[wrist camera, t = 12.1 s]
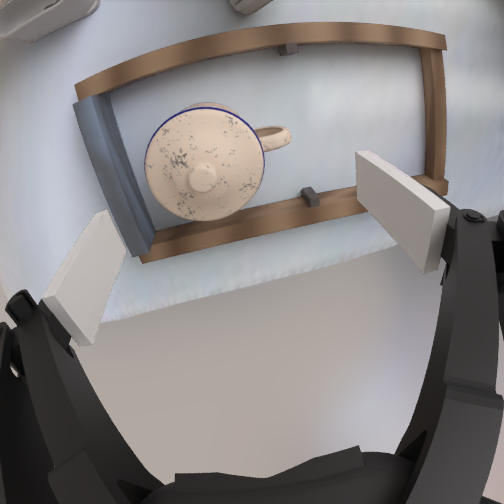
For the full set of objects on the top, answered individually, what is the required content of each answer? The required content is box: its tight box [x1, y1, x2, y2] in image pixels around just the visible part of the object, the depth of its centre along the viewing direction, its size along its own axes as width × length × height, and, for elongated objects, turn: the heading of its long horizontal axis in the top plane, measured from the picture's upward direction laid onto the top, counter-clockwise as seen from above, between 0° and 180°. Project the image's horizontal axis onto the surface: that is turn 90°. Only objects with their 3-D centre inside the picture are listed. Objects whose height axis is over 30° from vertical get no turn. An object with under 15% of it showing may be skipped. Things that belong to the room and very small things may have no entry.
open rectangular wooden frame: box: [73, 22, 449, 264], centre depth 26 cm, size 39×21×4 cm, turn 101°
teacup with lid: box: [144, 103, 291, 221], centre depth 23 cm, size 12×9×12 cm
